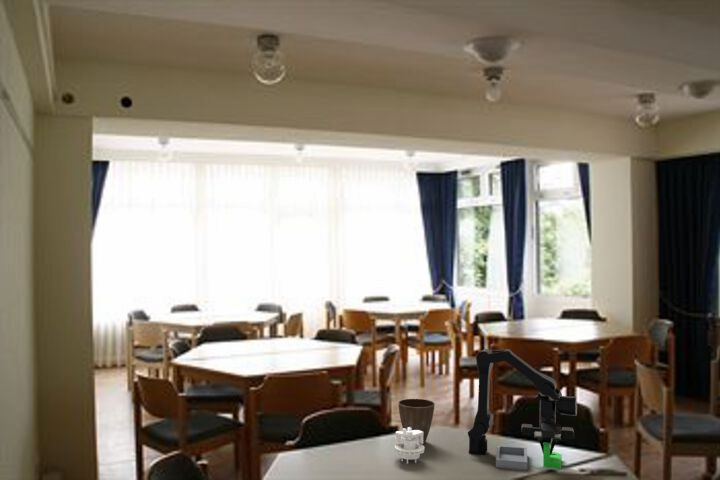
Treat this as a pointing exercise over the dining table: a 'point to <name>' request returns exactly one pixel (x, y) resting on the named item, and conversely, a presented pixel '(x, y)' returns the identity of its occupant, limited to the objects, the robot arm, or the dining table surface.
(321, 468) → the dining table surface
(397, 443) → the mechanical part
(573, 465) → the dining table surface
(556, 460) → the mechanical part
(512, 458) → the parts tray
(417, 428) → the plant pot
